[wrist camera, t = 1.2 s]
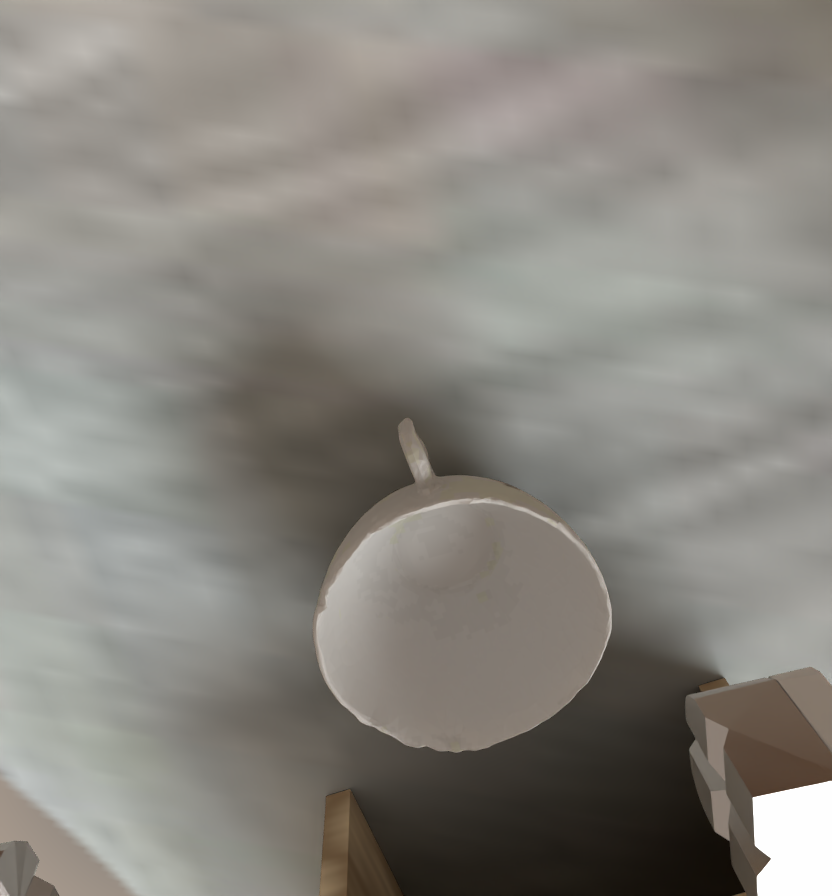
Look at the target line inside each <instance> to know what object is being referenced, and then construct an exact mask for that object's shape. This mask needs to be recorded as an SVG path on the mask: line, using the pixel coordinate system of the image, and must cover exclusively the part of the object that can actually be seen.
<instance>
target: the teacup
mask: <svg viewBox="0 0 832 896" xmlns="http://www.w3.org/2000/svg"><path fill="white" fill-rule="evenodd" d="M398 431H399V441H400V444H401V447H402V449H403V452H404V455H405V457H406V460H407V462H408V465H409V467H410V470H411V472H412V474H413V477H414V479H415V483H414V484H411V485H408V486H406V487H403V488H401V489H399V490H397V491H395V492H393V493H391V494H390V495H388V496H387V497H385V498H383V499H382V500H380V501H379V502H378V503H377V504H375V505H374V506H373V507H372V508H371V509H370V510H368V511H367V512H366V513H365V514H364V515H363V516H362V517H361V518H360V519H359V520H358V521H357V523H356V524H355V525H354V526H353V528H352V529H351V530H350V531H349V533H348V534H347V535H346V537H345V539H344V540H343V542H342V543H341V545H340V546H339V548H338V549H337V551H336V553H335V555H334V557H333V559H332V561H331V563H330V565H329V567H328V570H327V572H326V575H325V577H324V580H323V583H322V586H321V589H320V593H319V598H318V602H317V606H316V609H315V613H314V618H313V641H314V645H315V650H316V656H317V660H318V664H319V668H320V671H321V673H322V676H323V678H324V680H325V682H326V684H327V686H328V687H329V689H330V690H331V691H332V693H333V694H334V696H335V697H336V698H337V700H338V701H339V702H340V704H341V705H343V706H344V707H346V708H347V709H348V710H349V711H350V712H351V713H352V714H354V715H355V716H356V717H357V719H358V720H359V721H360V722H361V723H363V724H365V725H369V726H372V727H375V728H376V729H378V730H379V731H381V732H383V733H386V734H388V735H390V736H392V737H394V738H396V739H397V740H398V741H400V742H401V743H403V744H405V745H406V746H411V747H416V748H420V747H425V746H428V747H430V748H432V749H435V750H437V751H451V752H455V753H457V752H461V751H465V750H472V751H476V750H480V749H484V748H489V747H490V746H491V745H494V744H496V743H499V742H502V741H504V740H507V739H509V738H512V737H515V736H517V735H519V734H522V733H524V732H527V731H529V730H531V729H532V728H534V727H536V726H538V725H539V724H540V723H542V722H543V721H545V720H547V719H549V718H551V717H552V716H553V715H555V714H556V713H557V712H558V711H559V710H561V709H562V708H563V707H564V706H565V705H567V704H568V703H569V702H570V701H571V700H572V699H573V698H574V697H575V695H576V694H577V693H578V692H579V691H580V690H581V689H582V688H583V687H584V686H585V685H586V684H587V683H588V682H589V680H590V679H591V677H592V675H593V673H594V671H595V670H596V668H597V666H598V664H599V662H600V660H601V658H602V655H603V652H604V650H605V648H606V646H607V642H608V640H609V637H610V634H611V629H612V609H611V604H610V599H609V595H608V590H607V587H606V585H605V582H604V579H603V576H602V573H601V572H600V570H599V568H598V566H597V563H596V561H595V559H594V558H593V556H592V555H591V553H590V551H589V550H588V548H587V547H586V545H585V544H584V542H583V541H582V540H581V539H580V538H579V536H578V535H577V534H576V533H575V532H574V531H573V530H572V529H571V527H570V526H569V525H568V524H567V523H566V522H565V521H564V520H563V519H562V518H561V517H559V516H558V515H557V514H556V513H555V512H554V511H553V510H551V509H550V508H549V507H547V506H546V505H545V504H544V503H542V502H541V501H539V500H537V499H536V498H534V497H533V496H531V495H529V494H527V493H525V492H524V491H522V490H520V489H518V488H516V487H514V486H511V485H509V484H506V483H503V482H501V481H497V480H493V479H489V478H483V477H477V476H468V475H451V476H442V477H439V476H436V475H435V473H434V472H433V469H432V467H431V464H430V462H429V457H428V452H427V449H426V447H425V445H424V443H423V442H422V440H421V439H420V438H419V436H418V435H417V433H416V431H415V429H414V425H413V422H412V420H411V419H409V418H405V419H404V420H403V421H402V422H401V423H400V424H399V426H398Z"/></svg>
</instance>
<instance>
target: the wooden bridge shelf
mask: <svg viewBox="0 0 832 896" xmlns="http://www.w3.org/2000/svg"><path fill="white" fill-rule="evenodd" d="M726 686H729V684H728V683H727V681H726V679H725V678H723V679H719V680H716V681H713V682H709V683H706V684H703V685H699V689H700V692H703V691H708V690H712V689H717V688H721V687H726ZM319 896H404V895H403V893H402V891H401V890H400V888H399V886H398V884H397V882H396V880H395V878H394V876H393V874H392V872H391V870H390V868H389V866H388V864H387V862H386V860H385V858H384V856H383V854H382V852H381V850H380V848H379V846H378V844H377V842H376V840H375V838H374V836H373V834H372V832H371V830H370V828H369V826H368V824H367V822H366V820H365V818H364V816H363V814H362V812H361V810H360V808H359V806H358V804H357V802H356V800H355V798H354V796H353V794H352V792H351V790H350V789H348V790H345V791H342V792H338V793H335V794H332V795H328V796H326V806H325V820H324V835H323V850H322V865H321V879H320V894H319ZM733 896H747V894H746V892H744V893H741V894H737V895H733Z"/></svg>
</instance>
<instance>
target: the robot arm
mask: <svg viewBox="0 0 832 896" xmlns="http://www.w3.org/2000/svg"><path fill="white" fill-rule="evenodd" d="M685 713H686V722H687V724H688V725H689V727H690V729H691V731H692V733H693V735H694V736H695V738H696V739H695V741H694V742H693V744H692V745H691V747H690V748H689V755H690V762H691V770H692V774H693V778H694V782H695V785H696V789H697V793H698V796H699V798H700V801H701V803H702V806H703V808H704V811H705V813H706V815H707V817H708V819H709V821H710V823H711V825H712V827H713V829H714V831H715V832H716V833H718V834H719V835H721V836H722V837H724V838H726V839H727V840H729V841H730V851H731V863H732V867H733V869H734V871H735V873H736V875H737V877H738V878H739V880H740V882H741V884H742V886H743V888H744V890H745V892H746V894H747V896H832V685H831V684H830V683H829V682H828V681H827V680H826V678H825V677H824V676H823V675H822V674H821V673H820V671H818V670H816V669H814V668H812V667H808V668H803V669H799V670H795V671H790V672H786V673H782V674H777V675H773V676H769V677H768V678H761V679H757V680H752V681H748V682H743V683H739V684H734V685H730V686H726V687H721V688H717V689H712V690H708V691H703V692H699V693H695V694H690V695H687V696H686V701H685ZM38 863H39V859H38V857H37V856H36V854H35V852H34V851H33V849H32V848H31V846H30V845H29V843H28V842H26V841H12V842H6V843H1V844H0V896H59V894H58V892H57V891H56V889H55V887H54V886H53V885H51V884H50V883H48V882H46V881H44V880H42V879H40V878H38V877H36V876H34V875H35V872H36V869H37V866H38Z"/></svg>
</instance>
